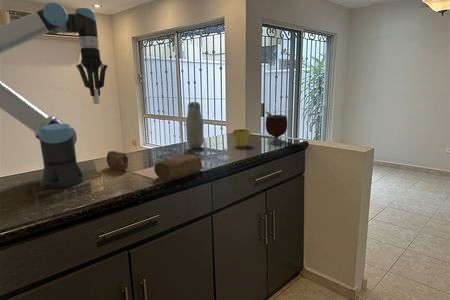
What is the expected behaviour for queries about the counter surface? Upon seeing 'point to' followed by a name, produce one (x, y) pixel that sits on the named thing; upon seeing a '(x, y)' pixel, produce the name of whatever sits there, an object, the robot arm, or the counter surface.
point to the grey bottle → (194, 126)
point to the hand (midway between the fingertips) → (96, 103)
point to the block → (178, 167)
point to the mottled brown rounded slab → (117, 160)
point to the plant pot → (241, 137)
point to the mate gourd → (276, 127)
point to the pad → (147, 173)
